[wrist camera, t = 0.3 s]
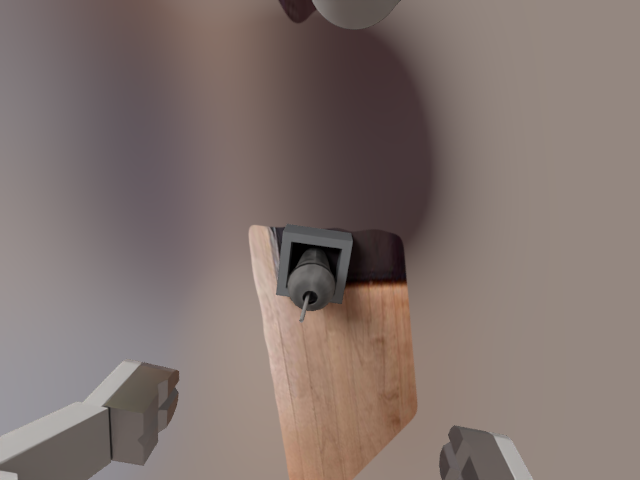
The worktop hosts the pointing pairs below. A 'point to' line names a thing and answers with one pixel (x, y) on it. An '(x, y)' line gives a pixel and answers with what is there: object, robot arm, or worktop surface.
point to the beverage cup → (311, 281)
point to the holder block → (322, 239)
